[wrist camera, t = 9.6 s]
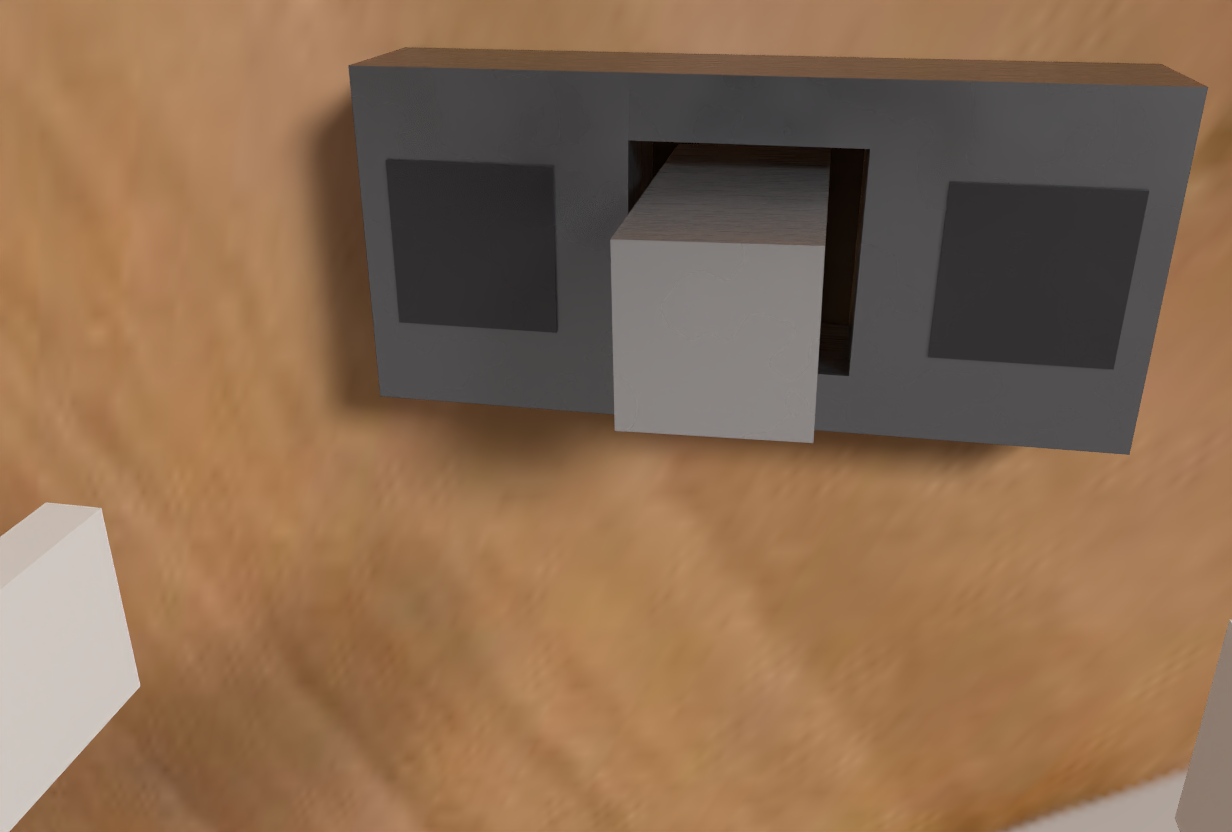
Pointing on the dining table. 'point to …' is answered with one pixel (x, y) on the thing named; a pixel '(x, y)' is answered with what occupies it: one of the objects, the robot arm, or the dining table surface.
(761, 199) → the light grey rectangular block
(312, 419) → the dining table surface
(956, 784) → the dining table surface
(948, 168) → the grey slotted base plate
